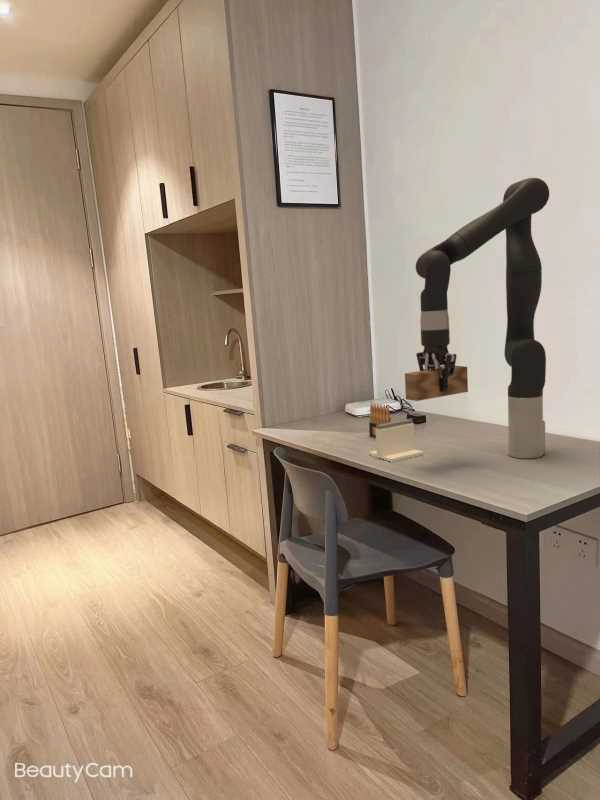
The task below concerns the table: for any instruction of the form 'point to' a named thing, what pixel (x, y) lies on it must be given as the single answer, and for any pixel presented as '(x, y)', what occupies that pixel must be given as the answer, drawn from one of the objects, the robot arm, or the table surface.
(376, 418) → the ammunition clip
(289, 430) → the table surface
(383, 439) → the ridge stand
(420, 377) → the walnut beam
